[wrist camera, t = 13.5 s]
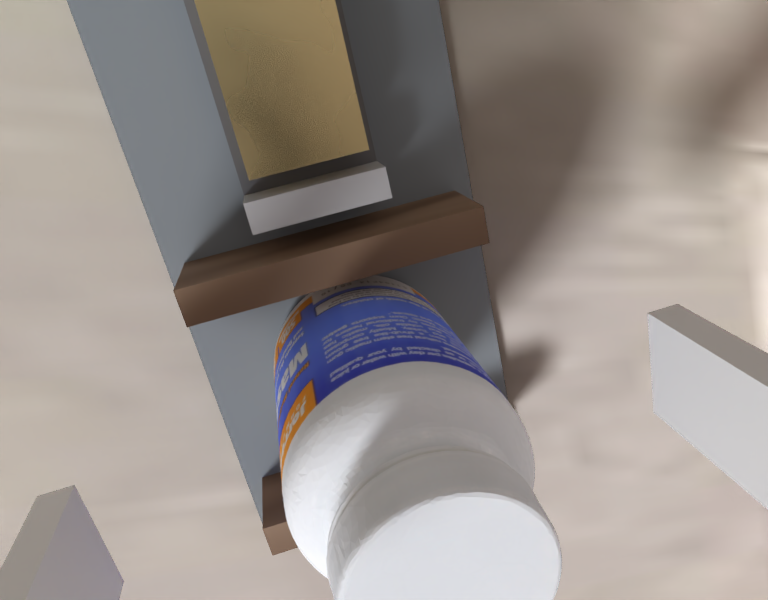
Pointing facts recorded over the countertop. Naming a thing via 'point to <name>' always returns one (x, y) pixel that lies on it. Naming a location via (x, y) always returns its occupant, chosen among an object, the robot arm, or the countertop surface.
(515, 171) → the countertop surface
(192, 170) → the mat
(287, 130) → the pad
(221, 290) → the trough
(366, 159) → the cradle base
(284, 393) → the pill bottle
